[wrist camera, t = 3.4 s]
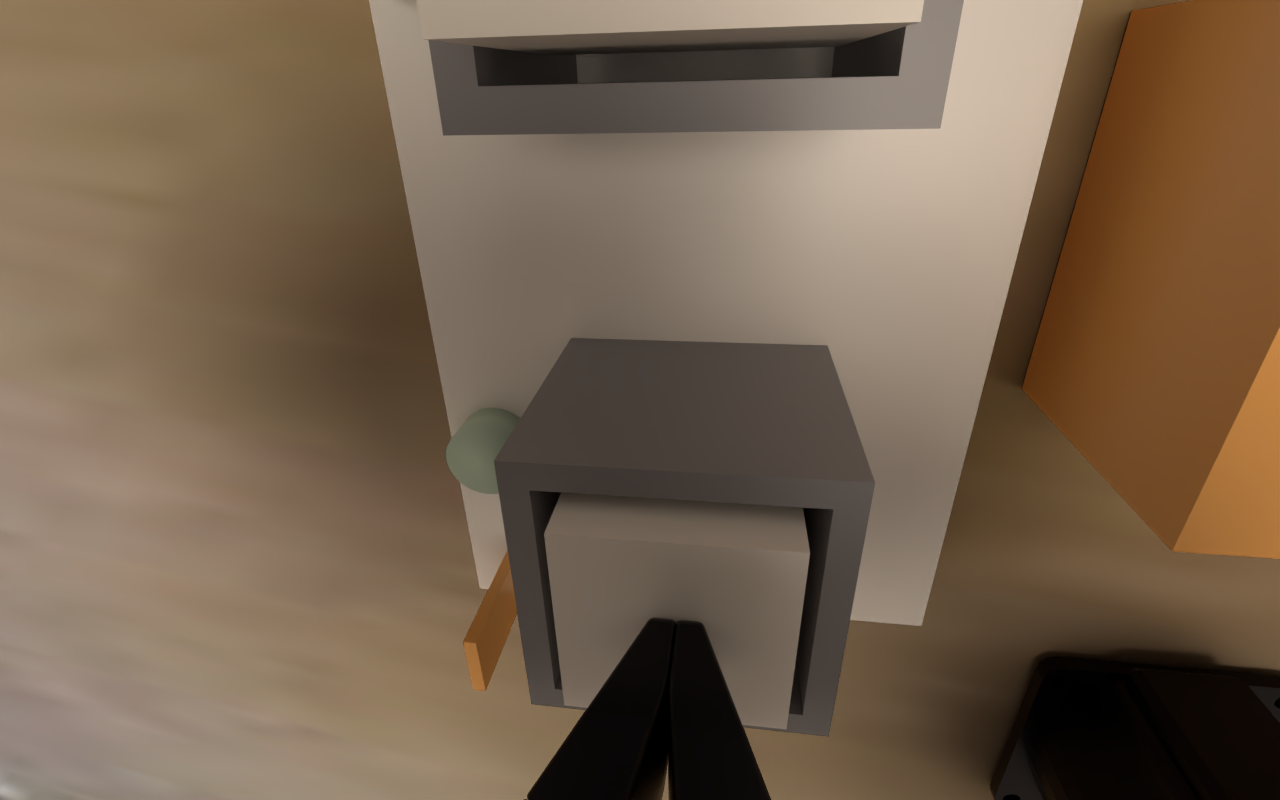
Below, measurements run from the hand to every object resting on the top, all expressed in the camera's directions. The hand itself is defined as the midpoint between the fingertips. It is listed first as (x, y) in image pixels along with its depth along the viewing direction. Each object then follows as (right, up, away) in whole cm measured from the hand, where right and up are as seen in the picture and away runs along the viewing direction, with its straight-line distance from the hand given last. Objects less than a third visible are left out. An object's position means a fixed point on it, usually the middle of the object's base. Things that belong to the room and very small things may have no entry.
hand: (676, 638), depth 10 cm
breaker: (0, +2, +3) cm, 4 cm away
